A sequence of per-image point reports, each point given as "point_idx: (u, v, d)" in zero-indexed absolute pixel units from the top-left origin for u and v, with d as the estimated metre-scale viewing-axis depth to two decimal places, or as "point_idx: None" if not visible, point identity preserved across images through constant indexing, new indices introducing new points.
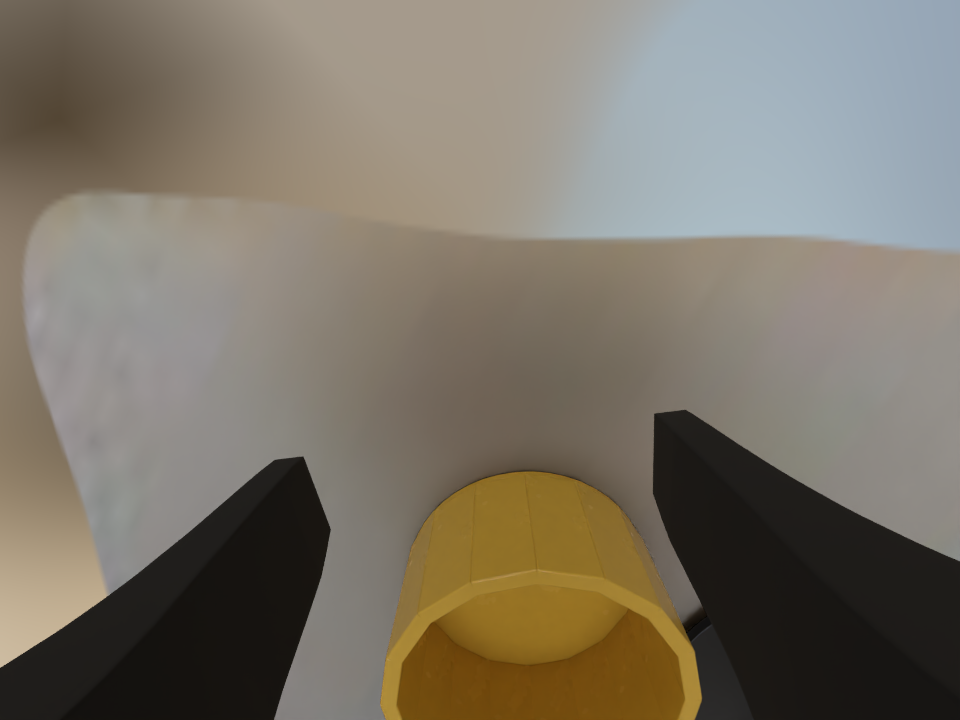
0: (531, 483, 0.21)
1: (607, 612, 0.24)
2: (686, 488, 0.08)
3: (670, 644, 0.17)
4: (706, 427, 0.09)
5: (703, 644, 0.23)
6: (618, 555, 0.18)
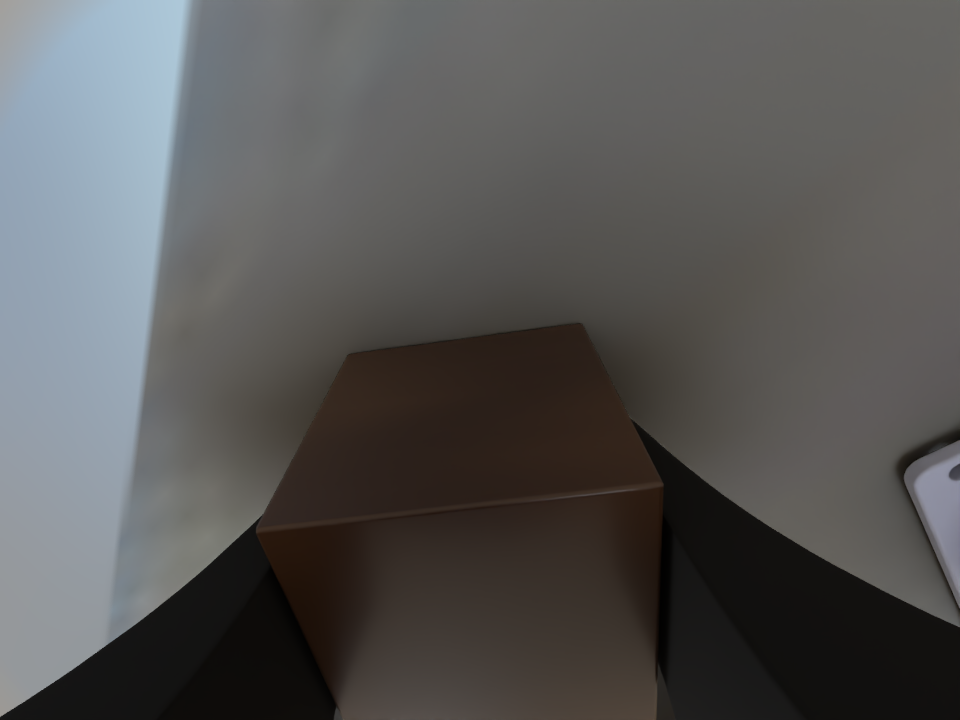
0: None
1: None
2: None
3: None
4: (641, 434, 0.09)
5: None
6: None
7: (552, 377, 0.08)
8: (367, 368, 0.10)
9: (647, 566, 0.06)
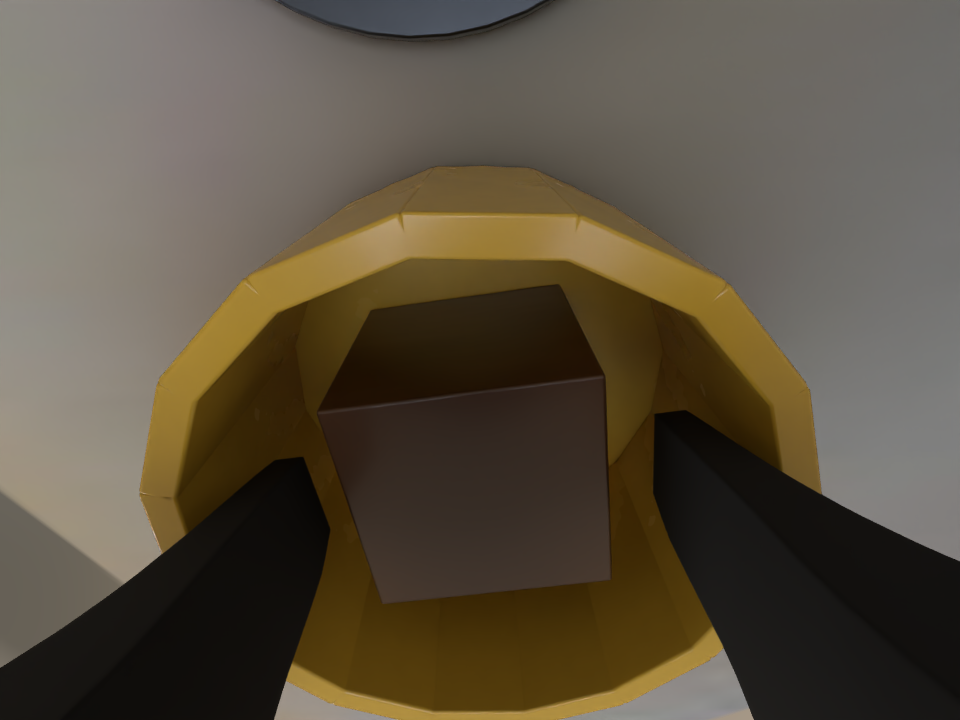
0: None
1: None
2: (686, 488, 0.08)
3: (183, 435, 0.07)
4: (706, 427, 0.09)
5: (390, 0, 0.09)
6: None
7: (533, 319, 0.11)
8: (387, 318, 0.12)
9: (597, 442, 0.09)
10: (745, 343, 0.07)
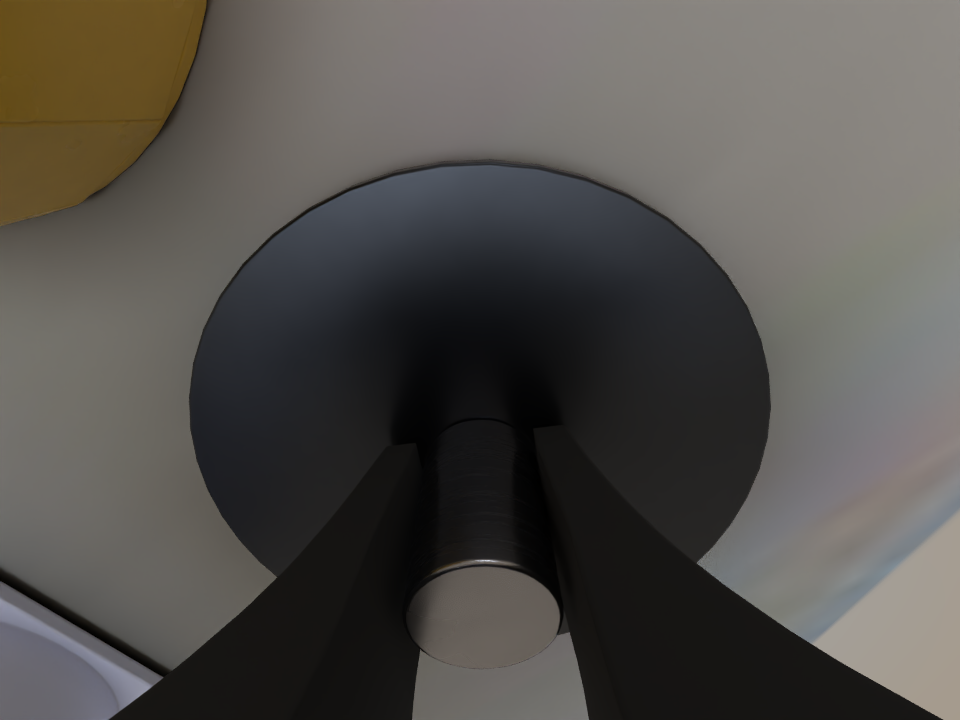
0: None
1: None
2: (547, 504, 0.09)
3: None
4: (570, 443, 0.09)
5: (310, 253, 0.08)
6: None
7: None
8: None
9: None
10: None
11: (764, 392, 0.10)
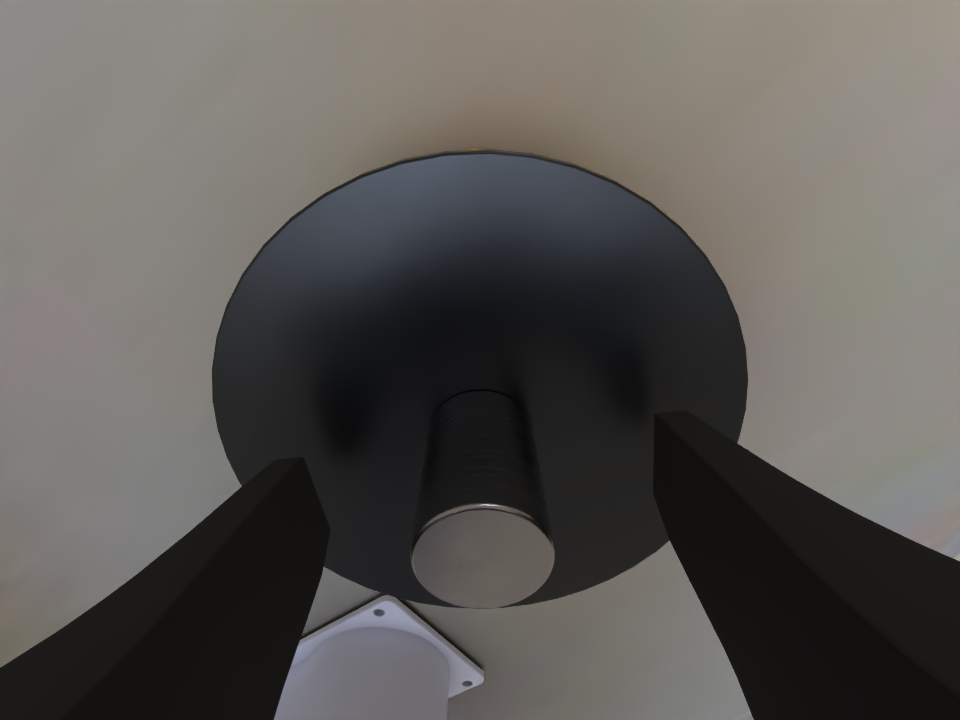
0: None
1: None
2: (686, 488, 0.08)
3: None
4: (706, 427, 0.09)
5: (325, 234, 0.09)
6: None
7: None
8: None
9: None
10: None
11: (741, 364, 0.11)
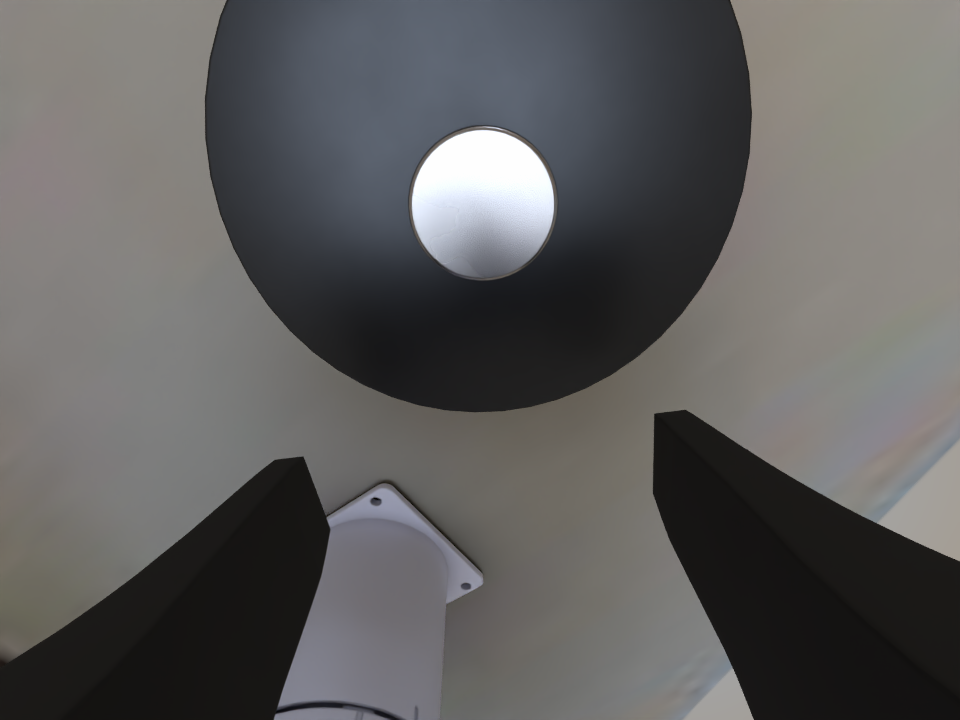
0: None
1: None
2: (686, 488, 0.08)
3: None
4: (706, 427, 0.09)
5: None
6: None
7: None
8: None
9: None
10: None
11: (745, 94, 0.10)
